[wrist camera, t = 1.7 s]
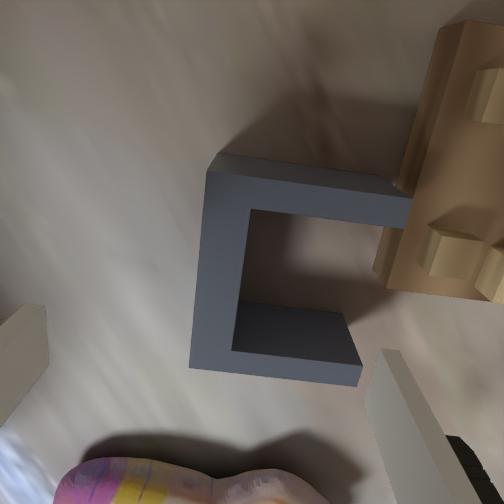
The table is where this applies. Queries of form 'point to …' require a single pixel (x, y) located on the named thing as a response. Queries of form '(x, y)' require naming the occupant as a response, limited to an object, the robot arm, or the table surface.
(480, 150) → the stand
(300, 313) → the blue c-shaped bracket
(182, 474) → the sculpture
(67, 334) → the table surface
